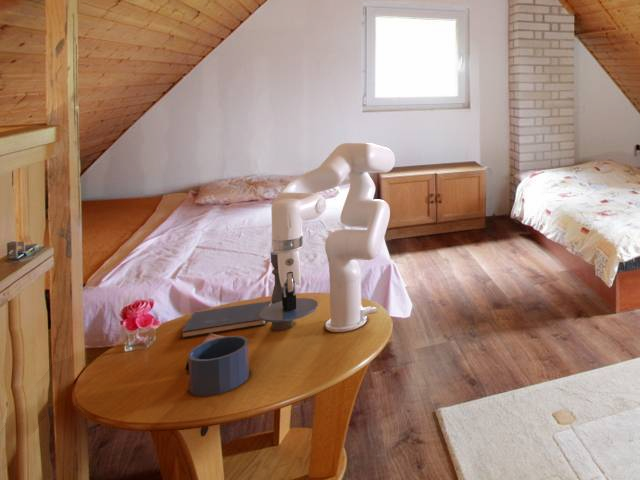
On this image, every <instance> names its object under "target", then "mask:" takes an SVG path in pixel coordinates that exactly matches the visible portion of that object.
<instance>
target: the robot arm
mask: <svg viewBox="0 0 640 480" xmlns="http://www.w3.org/2000/svg"><path fill="white" fill-rule="evenodd" d="M395 163H396V156H395V153H394V152H393V150H391V149H390V148H388V147H384V146H381V145H378V144H374V143H370V142H344V143H341V144H339V145H338V146H336V147H335V148H334V150H333V151H331V153H330V154H329V155H328V156H327V158H326V159H325V160H324V161H323V162H322V163H321V164H320V165H319V166H318V167H317V168H314V169H312V170H309V171H308V172H305V173H303V174H301V175H299V176H297V177H295V178H293V179H292V180H290V181H289V182H288V183H287V184H285V186H284V187H283V188H282V189H280V191H279V192H278V194H277V195H276V196H275V198H274V200H273V202H272V205H271V210H270V211H271V213H270V214H271V245H272V250H271V251H272V252H275V253H278V272H279V279H280V283H281V287H282V288H283V292H284V297H283V293H282V306H283V311H284V312H285V311H290V310H294V309H296V298H297V294H296V285H298V286H300V285H301V284H302V278H301V277H302V276H301V275H302V274H301V257H300V250H301V249H302V248H303V247H304V242H303V222H305V221H309V220H314V219H317V218H319V217H320V216H322V215H323V214H324V213H325V211H326V209H327V200H326V198H325V196H323V195H322V194H320V193H321V192H325V191H329V190H332V189H334V188H337V187H339V186H340V185H341V184H342V183H343V182H344V181H345V179H346V178H347V177H348V178H349V189H348V192H347V195H346V198H345V201H344V204H343V206H342V210H341V212H340V223H341V224H342V225H343V226H344V227H347V228H344V229H337V230H336V229H335V230H334V231H332V232H331V233H329V234H328V236H327V237H326V239H325V242H324V248H325V254H326V259H327V263H328V272H329V308H330V309H329V311H330V318H329V319H328V320H327V321H326V322H325V329H326V330H327V331H329V332H331V333H345V332H350V331H353V330H355V329H358V328H361V327H362V326H364V325H365V324H366V323H367V321H368V315H373V314H377V313H378V309H377V307H376V306H375V307H372V305H370V306H367V307H366V306H365V307H364V306H363V304H362V275H361V274H362V272H361V266H360V264H359V262H358V260H359V261H370V260H374V259H375V258H377V256H378V255H379V254H380V252H381V249H382V245H383V242H384V239H385V236H386V232H387V229H388V226H389V222H390V218H391V217H390V216H391V209H390V205H389V203H388V202H387V201H385V200H383V199H374V198H375V197H374V196H375V194H376V185H375V182H374V180H373V179H372V177H371V176H370V173H371V174H372V173H374V174H386V173H389V172H390V171H392V170H393V168H394V167H395ZM349 228H351V229H349ZM352 228H353V229H352ZM354 228H357V229H354Z"/></svg>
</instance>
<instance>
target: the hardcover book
mask: <svg viewBox="0 0 640 480" xmlns="http://www.w3.org/2000/svg"><path fill="white" fill-rule="evenodd" d="M269 305H272V302H271V300H267V301H266V300H265V301H261V302H260V301H259V302H251V303H246V304H240V305H233V306H226V307H220V308H212V309H206V310H199V311H194V312H193V313H192V315H191V316H190V318H189V319H188V321H187V322H186V324H185V325H184V327H183V329H181V332H180V333H181V334H182V336H181V339H182V340H183V339H189V338H194V337H201V336H206V335H207V336H208V335H209V333H212V334H219V333H220V334H221V333H226V332H230V331H231V332H232V331H237V330H244V329H249V328H250V329H251V328H257V327H262V326H265V325H266V323H267V322H266V321H263V320H261V319H260V317H259V314H260V312H261V311H262V310H263V309H264V308H266V307H267V306H269Z"/></svg>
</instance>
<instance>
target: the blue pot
mask: <svg viewBox="0 0 640 480" xmlns="http://www.w3.org/2000/svg"><path fill="white" fill-rule="evenodd" d="M201 343H202V342H201ZM201 343H200V344H198V345H196V346H195V347H193V348H192V349H191V350H190V351H189V352H188V357H187V358H188V361H187V362H188V364H189V372H188V385H189V386H188V388H189V393H191V394H192V395H194V396H197V397H209V396H210V397H211V396H215V395H220V394H223V393H227V392H230V391H232V390H234V389H236V388H238V387H239V386H241V385H242V384H244V383H245V382H246V381H247V380H248V378H249V376H250V357H249V339H248V338H247V337H245V336H241V335H228V336H227V335H226V336H225V337H221V338H216V339H213V340H209V341H207V342H205V343H202V344H201Z"/></svg>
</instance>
